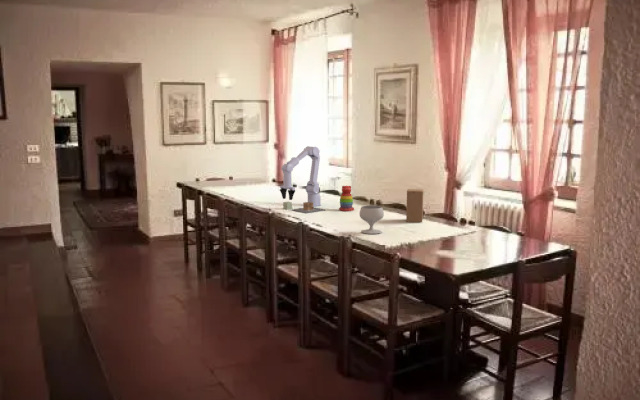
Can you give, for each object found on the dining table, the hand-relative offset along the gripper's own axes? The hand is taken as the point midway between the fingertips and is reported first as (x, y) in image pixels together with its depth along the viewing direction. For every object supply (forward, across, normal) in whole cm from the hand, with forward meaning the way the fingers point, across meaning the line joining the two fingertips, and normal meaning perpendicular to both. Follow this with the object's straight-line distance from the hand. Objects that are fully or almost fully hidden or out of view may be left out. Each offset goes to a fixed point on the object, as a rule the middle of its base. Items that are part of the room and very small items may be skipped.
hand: (287, 199), depth 406 cm
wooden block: (+7, +91, +31) cm, 96 cm away
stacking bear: (+7, +33, +27) cm, 43 cm away
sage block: (+7, 0, 0) cm, 7 cm away
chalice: (+7, +96, -15) cm, 97 cm away
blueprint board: (+7, +15, +7) cm, 18 cm away
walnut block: (+6, +15, +7) cm, 18 cm away
